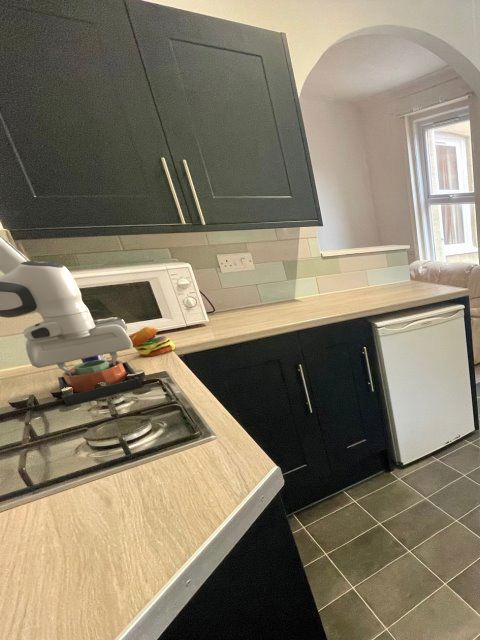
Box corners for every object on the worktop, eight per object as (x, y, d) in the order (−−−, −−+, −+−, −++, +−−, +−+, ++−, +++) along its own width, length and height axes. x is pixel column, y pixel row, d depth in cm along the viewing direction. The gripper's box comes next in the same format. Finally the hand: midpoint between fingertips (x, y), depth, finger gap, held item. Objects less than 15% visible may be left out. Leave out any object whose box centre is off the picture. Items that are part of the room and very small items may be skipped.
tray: (66, 406, 106) (61, 397, 105) (62, 385, 119) (57, 377, 118) (142, 386, 116) (138, 378, 115) (130, 369, 129) (126, 361, 128)
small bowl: (82, 386, 112) (74, 370, 110) (80, 379, 116) (72, 364, 115) (115, 378, 117) (108, 363, 115) (112, 372, 121) (105, 357, 119)
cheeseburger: (174, 352, 142) (154, 326, 137) (139, 366, 138) (117, 340, 133) (178, 344, 150) (160, 319, 145) (145, 357, 146) (125, 332, 141)
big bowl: (74, 399, 110) (64, 380, 107) (70, 387, 117) (61, 369, 115) (132, 384, 118) (124, 366, 115) (125, 374, 125) (118, 357, 123)
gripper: (120, 314, 119) (139, 359, 125) (15, 331, 105) (42, 381, 111) (123, 317, 115) (143, 364, 121) (14, 335, 101) (43, 387, 107)
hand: (94, 372), depth 116 cm, fingers closed on small bowl, 7 cm apart
